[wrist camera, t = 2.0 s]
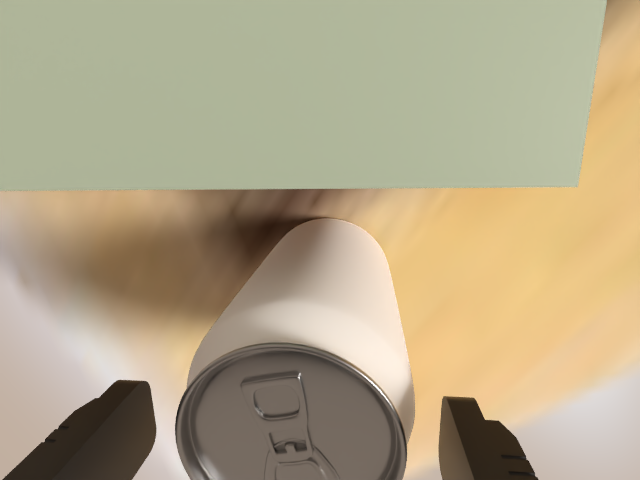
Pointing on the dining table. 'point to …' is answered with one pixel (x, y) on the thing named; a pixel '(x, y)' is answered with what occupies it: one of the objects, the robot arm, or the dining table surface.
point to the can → (303, 369)
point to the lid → (295, 93)
